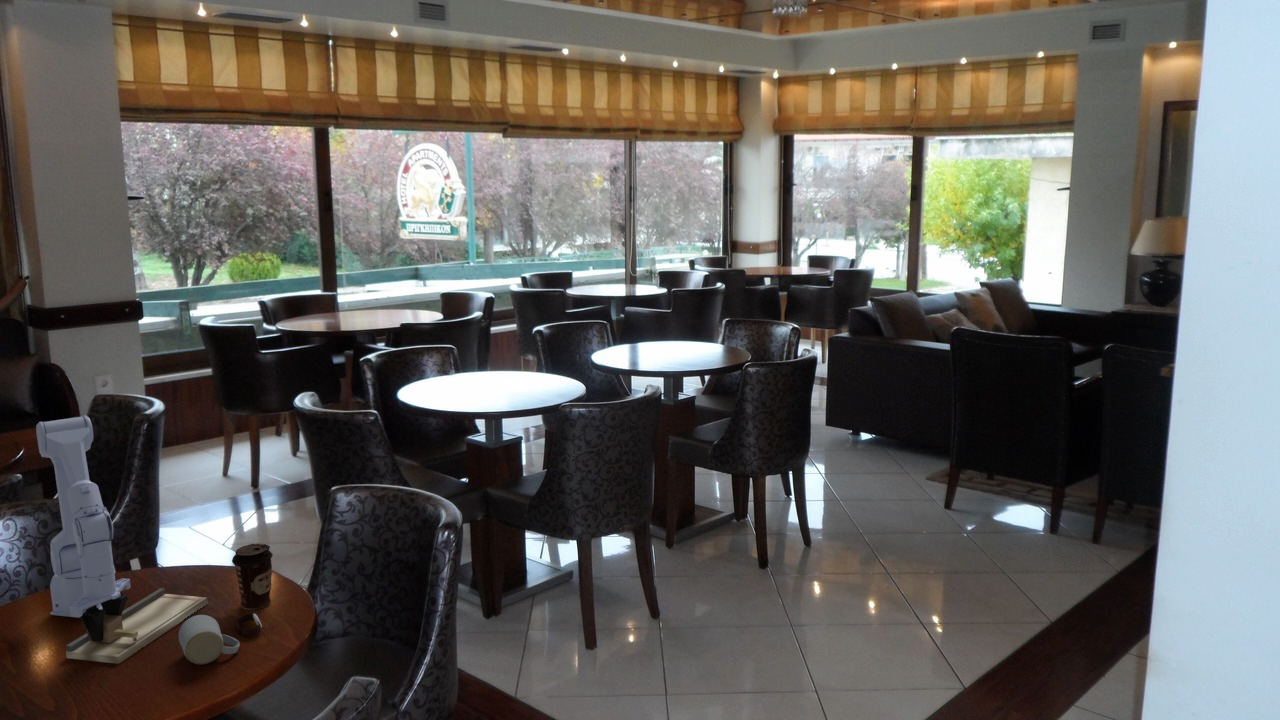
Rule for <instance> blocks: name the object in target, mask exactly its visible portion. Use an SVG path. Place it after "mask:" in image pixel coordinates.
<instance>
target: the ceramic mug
mask: <svg viewBox="0 0 1280 720" xmlns="http://www.w3.org/2000/svg"><path fill="white" fill-rule="evenodd" d="M177 637H178V642H179V645H180V646H181V648H182V652H183V654H184V656H185V658H186V659H187V660H188V661H189V662H191V663H193V664H194V665H199V666H200V665H201V666H202V665H208V664H210V663H213V662H214V661H216V660H217V659H218V658H219V657H220V655H221V654H223V655H235V654H237V653H238V651H239V648H240V645H241V644H240V641H239V640H238V639H237V638H234V637H232V636H230V635H227V634H223V633H222V632H221V628H220V625H219V623H218V621H217V620H216V619H215V618H214V617H212V616H211V615H206V614H198V615H194V616H192V617H191V616H190V617H188V618H187V619H185V620H184V621H183V623H182V624H181V626H180V628H179V631H178V636H177ZM224 644H227V645H229V646H226V645H224Z"/></svg>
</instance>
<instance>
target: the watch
mask: <svg viewBox="0 0 1280 720" xmlns="http://www.w3.org/2000/svg"><path fill="white" fill-rule="evenodd" d="M250 621H251V622H252V621H253V622H254V623H255V624H256V625H257V626H256V627H254V628H251V629H247V630H245V629H242V626H243V625H244V624H245V623H247V622H250ZM236 627H237V630H238V633H239V634H240V635H242V636H244V637H248V638H249V637H255V636H257V635H259V633H261V631H262V627H263V625H262V622H261V620H260V618H259V617H258V615H257V613H253V614H252V613H246V614H244V615H242V616H240V617H239V618H238V620H237V622H236Z"/></svg>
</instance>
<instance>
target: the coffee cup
mask: <svg viewBox="0 0 1280 720" xmlns="http://www.w3.org/2000/svg"><path fill="white" fill-rule="evenodd" d="M270 548H271V546H270V545H267V543H266V544H265V543H264V544H263V543H250V544H247V545H243V546H241V547H239V548H237V549H236V550H235V555H233V557H232V560H231V562H232V564H233V566H235V573H236V576H237V581H238V590H239V592H238V593H239V594H240V607H241V608H243V610H249V611H250V610H257V609H261V608H264V607H266V606H269V604H271V602H272V600H271V597H270V595H271V591H272V576H273V565H272V558H273V555H274V553H272V551H270Z"/></svg>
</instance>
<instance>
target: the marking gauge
mask: <svg viewBox="0 0 1280 720" xmlns="http://www.w3.org/2000/svg"><path fill="white" fill-rule="evenodd" d="M86 633H87V636H88V641H92V639H91V637H90V634H89V632H88V630H87V629H86ZM137 636H138V631H130V630H123V625H122V616H116V615H106V614H105V615H104V620H103V640H102V641H94V642H104V643H111V642H112V641H114V640H115V639H117V638H118V637H129V638H133V641H137V638H136V637H137Z"/></svg>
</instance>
